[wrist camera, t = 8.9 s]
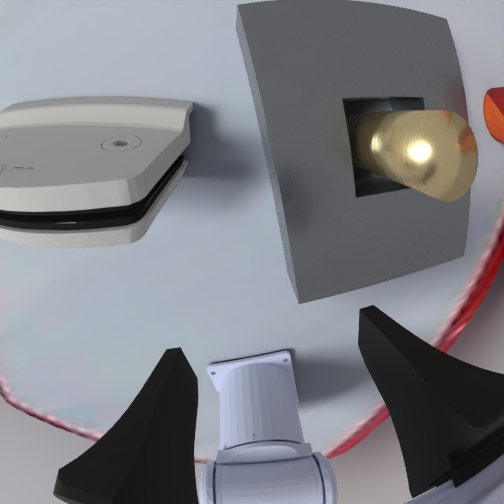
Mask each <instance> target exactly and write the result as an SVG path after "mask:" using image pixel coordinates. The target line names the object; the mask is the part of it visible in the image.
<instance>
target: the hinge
mask: <svg viewBox="0 0 504 504" xmlns="http://www.w3.org/2000/svg"><path fill="white" fill-rule="evenodd" d="M192 111H193V102H190V101H181V100H170V99H157V98H140V97H79V98H62V99H51V100H41V101H33V102H25V103H18V104H12V105H11V106H9V107H7V108H6V109H4V110H2V111H1V112H0V239H3V240H6V241H9V242H13V243H17V244H23V245H28V246H36V247H48V248H90V247H104V246H113V245H122V244H130V243H133V242H136V241H138V240H139V239H141V238H142V237H143V236H144V235H145V233H146V232H147V230H148V229H149V227H150V225H151V224H152V222H153V221H154V219H155V217H156V216H157V214H158V213H159V211H160V210H161V208H162V206H163V205H164V203H165V202H166V200H167V199H168V197H169V196H170V194H171V193H172V191H173V190H174V188H175V187H176V186H177V184H178V183H179V181H180V180H181V178H182V177H183V175H184V172H185V170H186V167H187V164H188V161H187V160H183V158H184V156H179V155H180V154H181V153H182V152H183V151H184V150H185V148H186V147H187V146H188V145H189V144H190V143H191V139H190V124H189V115H190V113H191V112H192Z"/></svg>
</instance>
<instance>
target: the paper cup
mask: <svg viewBox="0 0 504 504" xmlns="http://www.w3.org/2000/svg"><path fill="white" fill-rule="evenodd" d="M484 117H485V122H486V125H487V128H488V130H489V132H490V134H491V135H492V137H493V138H494V139H495V140H497V141H499V142H501V143H504V87H499V88H491V89H489V90H488V91H487V93H486V95H485V98H484Z"/></svg>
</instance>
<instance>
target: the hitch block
mask: <svg viewBox="0 0 504 504" xmlns="http://www.w3.org/2000/svg"><path fill="white" fill-rule="evenodd" d="M236 30H237V34H238V38H239V42H240V46H241V50H242V54H243V58H244V62H245V66H246V70H247V74H248V79H249V83H250V87H251V91H252V96H253V100H254V104H255V109H256V113H257V118H258V122H259V127H260V131H261V136H262V141H263V145H264V150H265V155H266V160H267V165H268V170H269V174H270V179H271V184H272V189H273V195H274V200H275V205H276V210H277V215H278V221H279V226H280V231H281V237H282V242H283V248H284V254H285V259H286V265H287V271H288V275H289V278H290V280H291V283H292V286H293V289H294V292H295V294H296V297H297V300H298V303H299V304H302V303H306V302H310V301H314V300H318V299H322V298H326V297H330V296H334V295H338V294H342V293H345V292H349V291H353V290H356V289H360V288H364V287H367V286H371V285H374V284H378V283H381V282H385V281H388V280H391V279H395V278H398V277H401V276H405V275H408V274H411V273H414V272H417V271H420V270H424V269H427V268H430V267H433V266H436V265H439V264H442V263H445V262H447V261H450V260H453V259H456V258H459V257H462V256H464V251H465V244H466V236H467V228H468V218H469V205H470V188H469V190H468V191H467V192H466V193H465V194H464V195H463V196H462V197H461V198H459V199H458V200H456V201H452V202H443V201H440V200H438V199H436V198H433V197H431V196H429V195H427V194H424V193H422V192H420V191H417V190H415V189H413V188H410V187H408V186H405V185H403V184H400V183H398V182H395V181H393V180H390V179H388V178H385V177H382V176H380V175H378V176H371V177H365V178H359V179H354V174H353V165H352V157H351V150H350V143H349V136H348V130H347V123H346V118H345V112H344V106H343V101H352V100H372V99H391V105H392V111H405V110H444V111H452V112H454V113H456V114H458V115H460V116H461V117H462V118H463V119H464V120H465V121H466V122H467V124H468V115H467V106H466V99H465V92H464V86H463V81H462V75H461V71H460V66H459V61H458V57H457V53H456V49H455V45H454V42H453V38H452V35H451V31H450V28H449V25H448V22H447V19H445V18H441V17H438V16H434V15H431V14H427V13H423V12H419V11H415V10H410V9H406V8H401V7H395V6H390V5H384V4H377V3H369V2H361V1H350V0H275V1H264V2H255V3H247V4H240V5H237V21H236ZM468 125H469V124H468Z"/></svg>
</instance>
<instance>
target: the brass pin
mask: <svg viewBox="0 0 504 504" xmlns="http://www.w3.org/2000/svg"><path fill="white" fill-rule="evenodd" d="M346 123H347V130H348V136H349V143H350V150H351V157H352V165H353V166H355V167H357V168H360V169H363V170H366V171H369V172H372V173H374V174H377V175H380V176H382V177H385V178H388V179H390V180H393V181H395V182H398V183H400V184H403V185H405V186H408V187H410V188H413V189H415V190H417V191H420V192H422V193H424V194H427V195H429V196H431V197H433V198H436V199H438V200H440V201H443V202H452V201H456V200H458V199H459V198H461V197H462V196H463V195H464V194H465V193H466V192H467V191H468V190H469V188H470V187H471V185H472V183H473V181H474V178H475V175H476V171H477V165H478V150H477V144H476V140H475V137H474V134H473V132H472V130H471V128H470V126H469V125H468V124H467V122H466V121H465V120H464V119H463V118H462V117H461V116H460V115H458V114H456V113H454V112H452V111H444V110H405V111H382V112H367V113H357V114H353V115H351V116H349V117H348V118H347V119H346Z"/></svg>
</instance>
